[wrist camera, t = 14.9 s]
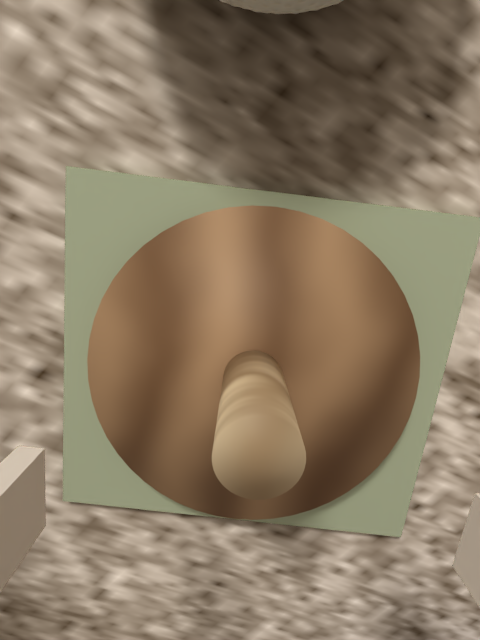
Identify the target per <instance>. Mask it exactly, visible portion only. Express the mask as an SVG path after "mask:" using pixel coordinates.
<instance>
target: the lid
mask: <svg viewBox="0 0 480 640" xmlns="http://www.w3.org/2000/svg"><path fill="white" fill-rule="evenodd" d="M87 365H88V382H89V387H90V393H91V398H92V402H93V405H94V408H95V411H96V414H97V417H98V420H99V422H100V424H101V426H102V428H103V430H104V433H105V435H106V437H107V438H108V440H109V441H110V443H111V444H112V446H113V448H114V449H115V451H116V452H117V454H118V455H119V456H120V457H121V458H122V460H123V461H124V462H125V463H126V464H127V465H128V467H129V468H130V469H131V470H132V471H133V472H134V473H135V474H137V475H138V476H139V477H140V478H141V479H142V480H143V481H144V482H145V483H147V484H148V485H150V486H151V487H152V488H154V489H155V490H157V491H158V492H159V493H161V494H163V495H164V496H166V497H168V498H170V499H172V500H173V501H175V502H177V503H179V504H182V505H184V506H187V507H189V508H191V509H194V510H196V511H200V512H204V513H207V514H211V515H214V516H220V517H226V518H232V519H247V520H260V519H274V518H280V517H286V516H292V515H296V514H299V513H302V512H306V511H309V510H312V509H315V508H317V507H320V506H322V505H324V504H327V503H329V502H331V501H333V500H335V499H336V498H338V497H340V496H342V495H343V494H345V493H347V492H348V491H350V490H351V489H352V488H354V487H355V486H357V485H358V484H359V483H361V482H362V481H363V480H364V479H366V478H367V477H368V476H369V475H370V474H371V473H372V472H373V471H374V470H375V469H376V468H377V467H378V466H379V465H380V464H381V463H382V461H383V460H384V459H385V458H386V457H387V455H388V454H389V453H390V452H391V450H392V449H393V447H394V446H395V444H396V442H397V441H398V439H399V438H400V436H401V435H402V432H403V430H404V428H405V426H406V424H407V422H408V420H409V418H410V415H411V412H412V409H413V406H414V402H415V399H416V395H417V389H418V384H419V378H420V349H419V339H418V333H417V329H416V325H415V321H414V318H413V314H412V312H411V309H410V307H409V304H408V302H407V300H406V297H405V295H404V293H403V291H402V290H401V288H400V286H399V285H398V283H397V281H396V280H395V278H394V276H393V275H392V274H391V272H390V271H389V270H388V269H387V268H386V266H385V265H384V264H383V263H382V261H381V260H380V259H379V258H378V257H377V256H376V255H375V254H374V253H373V252H372V251H371V250H370V249H369V248H367V247H366V246H365V245H364V244H363V243H362V242H360V241H359V240H358V239H356V238H355V237H353V236H352V235H350V234H349V233H348V232H346V231H345V230H343V229H341V228H339V227H337V226H335V225H333V224H331V223H329V222H327V221H325V220H323V219H321V218H318V217H315V216H312V215H309V214H306V213H303V212H301V211H296V210H291V209H286V208H280V207H273V206H254V205H251V206H239V207H228V208H223V209H219V210H214V211H210V212H205V213H202V214H200V215H197V216H194V217H192V218H189V219H186V220H184V221H181V222H179V223H178V224H176V225H174V226H172V227H170V228H168V229H166V230H165V231H163V232H161V233H160V234H158V235H157V236H156V237H154V238H153V239H152V240H150V241H149V242H147V243H146V244H145V245H143V246H142V247H141V248H140V249H139V250H138V251H137V252H136V253H135V254H134V255H133V256H132V257H131V258H130V259H129V260H128V261H127V262H126V263H125V264H124V266H123V267H122V268H121V270H120V271H119V272H118V273H117V275H116V276H115V277H114V279H113V280H112V282H111V284H110V285H109V287H108V289H107V291H106V292H105V294H104V296H103V298H102V300H101V302H100V305H99V307H98V310H97V313H96V315H95V318H94V321H93V325H92V330H91V334H90V338H89V347H88V357H87Z"/></svg>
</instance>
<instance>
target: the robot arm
mask: <svg viewBox="0 0 480 640" xmlns="http://www.w3.org/2000/svg"><path fill="white" fill-rule="evenodd" d="M45 526H46V518H45V448H37V447H27V446H18V447H17V448H16V449H15V450H14V451H13V452H11V453H10V454H9V455H8V456H7V457H6V458H5V459H4V460H3V461H2V462H1V463H0V592H1V591H2V589H3V588H4V586H5V585H6V583H7V582H8V580H9V579H10V577H11V576H12V575H13V573H14V572H15V570H16V569H17V567H18V566H19V564H20V563H21V561H22V560H23V558H24V557H25V555H26V554H27V552H28V551H29V549H30V548H31V546H32V545H33V543H34V542H35V540H36V539H37V538H38V536H39V535H40V533H41V532H42V530H43V529H44V527H45ZM452 566H453V568H454V569H455V571H456V572H457V574H458V575H459V577H460V578H461V580H462V581H463V583H464V585H465V586H466V588H467V589H468V591H469V592H470V594H471V595H472V597H473V598H474V600H475V602H476V603H477V605H478V606H479V608H480V494H479V493H475V495H474V498H473V501H472V505H471V508H470V511H469V514H468V517H467V520H466V524H465V527H464V530H463V533H462V536H461V539H460V543H459V546H458V549H457V552H456V555H455V558H454V562H453V565H452Z"/></svg>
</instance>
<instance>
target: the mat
mask: <svg viewBox="0 0 480 640" xmlns="http://www.w3.org/2000/svg"><path fill="white" fill-rule="evenodd" d="M251 205H254V206H273V207H280V208H286V209H291V210H296V211H301V212H303V213H306V214H309V215H312V216H315V217H318V218H321V219H323V220H325V221H327V222H329V223H331V224H333V225H335V226H337V227H339V228H341V229H343V230H345V231H346V232H348V233H349V234H350V235H352V236H353V237H355V238H356V239H358V240H359V241H360V242H362V243H363V244H364V245H365V246H366V247H367V248H369V249H370V250H371V251H372V252H373V253H374V254H375V255H376V256H377V257H378V258H379V259H380V260H381V261H382V263H383V264H384V265H385V266H386V268H387V269H388V270H389V271H390V272H391V274H392V275H393V276H394V278H395V280H396V281H397V283H398V285H399V286H400V288H401V290H402V291H403V293H404V295H405V297H406V300H407V302H408V304H409V307H410V309H411V312H412V314H413V318H414V321H415V325H416V329H417V333H418V339H419V349H420V378H419V384H418V389H417V395H416V399H415V402H414V406H413V409H412V412H411V415H410V418H409V420H408V422H407V424H406V426H405V428H404V430H403V432H402V435H401V436H400V438H399V439H398V441H397V442H396V444H395V446H394V447H393V449H392V450H391V452H390V453H389V454H388V455H387V457H386V458H385V459H384V460H383V461H382V463H381V464H380V465H379V466H378V467H377V468H376V469H375V470H374V471H373V472H372V473H371V474H370V475H369V476H368V477H367V478H366V479H364V480H363V481H362V482H361V483H359V484H358V485H357V486H355V487H354V488H352V489H351V490H350V491H348V492H347V493H345V494H343V495H342V496H340V497H338V498H336V499H335V500H333V501H331V502H329V503H327V504H324V505H322V506H320V507H317V508H315V509H312V510H309V511H306V512H302V513H299V514H296V515H292V516H286V517H280V518H274V519H260V520H247V519H236V520H245V521H254V522H263V523H273V524H282V525H291V526H301V527H310V528H319V529H329V530H338V531H347V532H356V533H366V534H375V535H384V536H394V537H401V535H402V531H403V527H404V523H405V519H406V515H407V512H408V508H409V504H410V500H411V496H412V492H413V489H414V485H415V481H416V477H417V473H418V469H419V466H420V462H421V458H422V454H423V450H424V446H425V443H426V439H427V435H428V431H429V427H430V424H431V420H432V416H433V412H434V408H435V404H436V401H437V397H438V393H439V389H440V385H441V381H442V378H443V374H444V370H445V366H446V362H447V358H448V355H449V351H450V347H451V343H452V339H453V335H454V332H455V328H456V324H457V320H458V316H459V312H460V309H461V305H462V301H463V297H464V293H465V289H466V286H467V282H468V278H469V274H470V270H471V266H472V263H473V259H474V255H475V251H476V247H477V243H478V240H479V236H480V217H472V216H464V215H456V214H448V213H440V212H432V211H424V210H416V209H408V208H400V207H392V206H384V205H375V204H367V203H359V202H351V201H343V200H335V199H327V198H319V197H311V196H303V195H295V194H287V193H279V192H271V191H263V190H255V189H247V188H239V187H230V186H222V185H214V184H206V183H198V182H190V181H182V180H174V179H166V178H158V177H150V176H142V175H134V174H126V173H118V172H110V171H102V170H94V169H86V168H77V167H69V166H66V192H65V306H64V419H63V501H68V502H78V503H87V504H96V505H105V506H115V507H124V508H133V509H143V510H152V511H161V512H171V513H180V514H189V515H198V516H208V517H217V518H226V517H220V516H214V515H211V514H207V513H204V512H200V511H196V510H194V509H191V508H189V507H187V506H184V505H182V504H179V503H177V502H175V501H173V500H172V499H170V498H168V497H166V496H164V495H163V494H161V493H159V492H158V491H157V490H155V489H154V488H152V487H151V486H150V485H148V484H147V483H145V482H144V481H143V480H142V479H141V478H140V477H139V476H138V475H137V474H135V473H134V472H133V471H132V470H131V469H130V468H129V467H128V465H127V464H126V463H125V462H124V461H123V460H122V458H121V457H120V456H119V455H118V454H117V452H116V451H115V449H114V448H113V446H112V444H111V443H110V441H109V440H108V438H107V437H106V435H105V433H104V430H103V428H102V426H101V424H100V422H99V420H98V417H97V414H96V411H95V408H94V405H93V402H92V398H91V393H90V387H89V382H88V365H87V357H88V347H89V338H90V334H91V330H92V325H93V321H94V318H95V315H96V313H97V310H98V307H99V305H100V302H101V300H102V298H103V296H104V294H105V292H106V291H107V289H108V287H109V285H110V284H111V282H112V280H113V279H114V277H115V276H116V275H117V273H118V272H119V271H120V270H121V268H122V267H123V266H124V264H125V263H126V262H127V261H128V260H129V259H130V258H131V257H132V256H133V255H134V254H135V253H136V252H137V251H138V250H139V249H140V248H141V247H142V246H143V245H145V244H146V243H147V242H149V241H150V240H152V239H153V238H154V237H156V236H157V235H158V234H160V233H161V232H163V231H165V230H166V229H168V228H170V227H172V226H174V225H176V224H178V223H179V222H181V221H184V220H186V219H189V218H192V217H194V216H197V215H200V214H202V213H205V212H210V211H214V210H219V209H223V208H228V207H239V206H251ZM226 519H232V518H226Z"/></svg>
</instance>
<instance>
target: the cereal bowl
mask: <svg viewBox="0 0 480 640" xmlns="http://www.w3.org/2000/svg"><path fill="white" fill-rule="evenodd" d="M220 1H221V2H223V3H228V4H230V5H232V6H234V7H241V8H243V9H249V10H252V11H254V12H263V13H274V14H277V15H278V14H289V13H293V14H298V13H300V12H307V11H317V10H319V9H321V8H325V7H329V6H331V5H335V4H338V3H340V2H341V1H343V0H220Z"/></svg>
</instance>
